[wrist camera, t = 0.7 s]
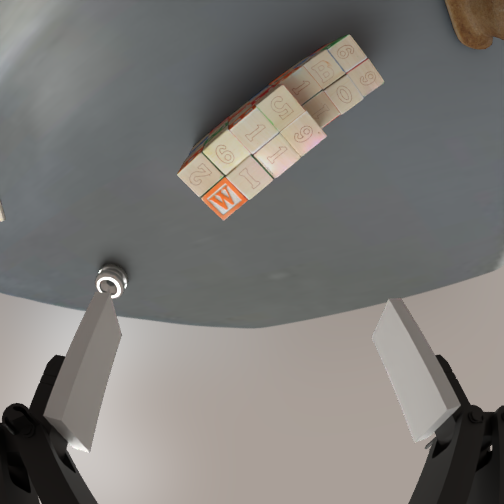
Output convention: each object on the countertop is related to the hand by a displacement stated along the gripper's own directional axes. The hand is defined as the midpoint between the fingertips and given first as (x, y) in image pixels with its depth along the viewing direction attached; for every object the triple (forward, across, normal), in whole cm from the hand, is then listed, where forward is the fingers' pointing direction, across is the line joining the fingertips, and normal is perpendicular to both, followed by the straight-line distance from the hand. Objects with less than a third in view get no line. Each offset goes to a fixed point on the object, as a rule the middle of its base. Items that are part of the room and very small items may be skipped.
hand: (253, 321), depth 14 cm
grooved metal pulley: (+28, -19, -18) cm, 38 cm away
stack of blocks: (+28, +4, +7) cm, 29 cm away
